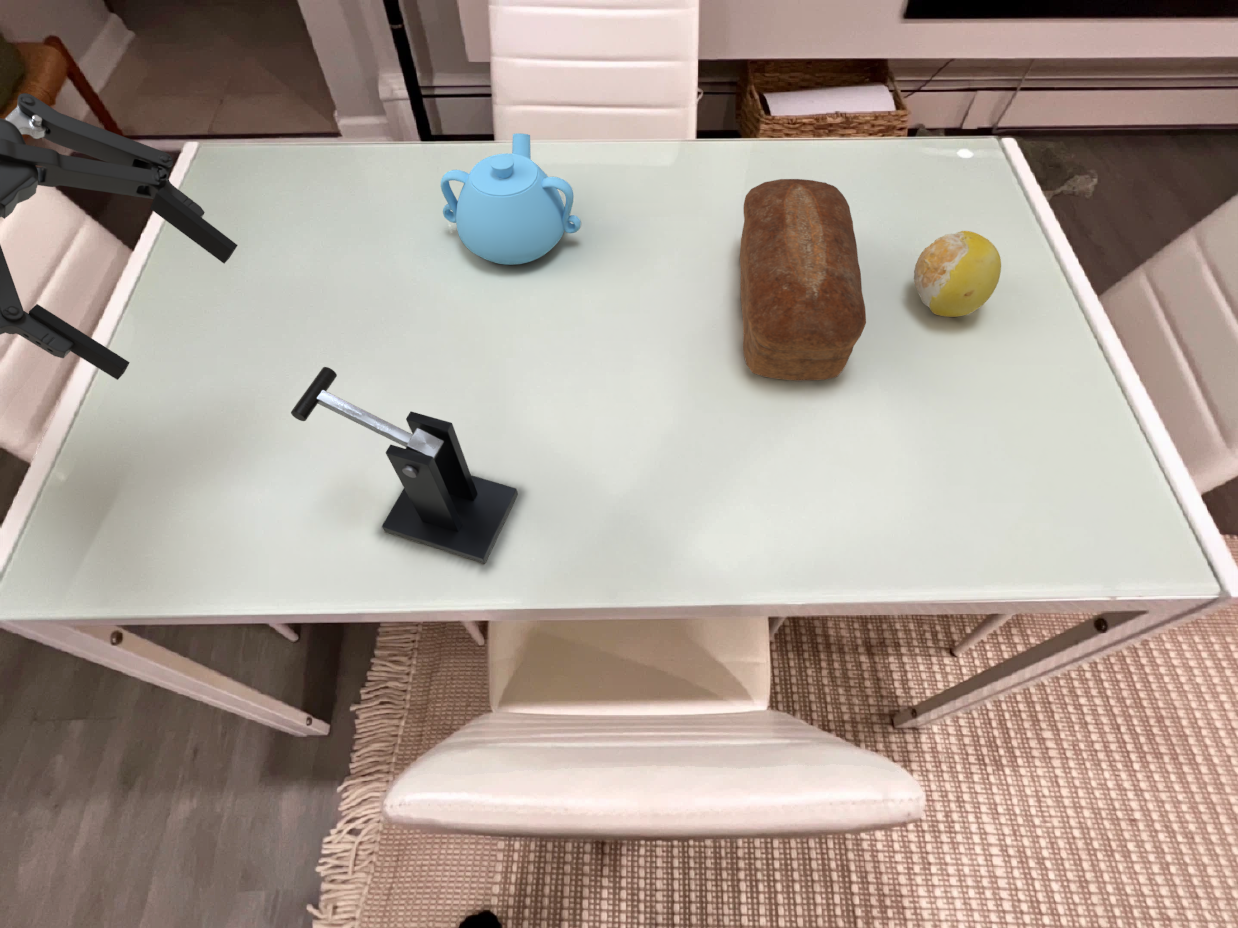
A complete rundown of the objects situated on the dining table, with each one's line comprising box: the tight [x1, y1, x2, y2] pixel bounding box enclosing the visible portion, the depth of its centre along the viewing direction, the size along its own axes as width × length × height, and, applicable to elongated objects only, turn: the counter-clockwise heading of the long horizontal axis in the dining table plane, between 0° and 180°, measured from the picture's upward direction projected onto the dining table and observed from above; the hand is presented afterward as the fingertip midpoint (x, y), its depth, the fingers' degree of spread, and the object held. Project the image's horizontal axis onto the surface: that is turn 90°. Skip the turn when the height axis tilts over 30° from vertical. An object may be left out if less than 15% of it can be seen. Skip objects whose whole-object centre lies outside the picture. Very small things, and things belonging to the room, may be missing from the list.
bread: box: [739, 178, 867, 382], centre depth 89 cm, size 14×28×12 cm, turn 176°
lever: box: [290, 366, 444, 461], centre depth 66 cm, size 13×6×2 cm, turn 71°
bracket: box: [381, 411, 519, 564], centre depth 72 cm, size 12×9×15 cm
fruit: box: [913, 230, 1002, 318], centre depth 90 cm, size 10×11×10 cm
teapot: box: [440, 132, 582, 266], centre depth 98 cm, size 20×20×13 cm
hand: (181, 309), depth 57 cm, fingers open, 13 cm apart
